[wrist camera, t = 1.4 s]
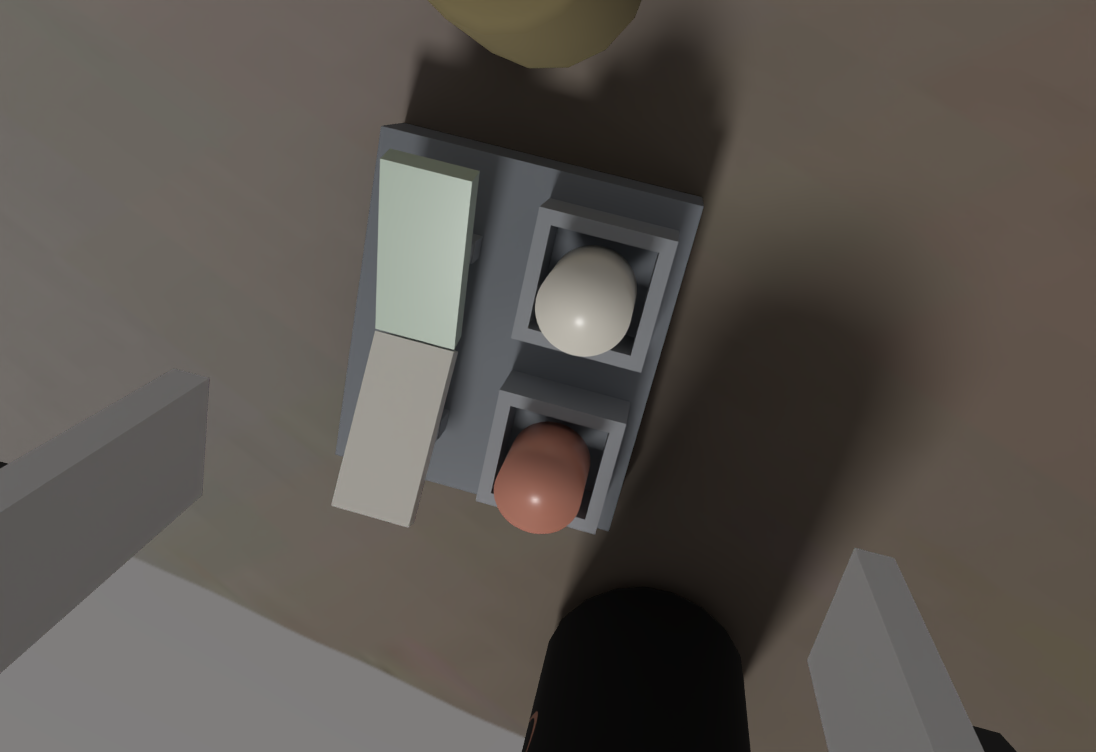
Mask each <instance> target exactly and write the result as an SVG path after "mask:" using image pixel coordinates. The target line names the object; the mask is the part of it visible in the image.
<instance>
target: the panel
mask: <svg viewBox="0 0 1096 752" xmlns="http://www.w3.org/2000/svg"><path fill="white" fill-rule="evenodd" d="M390 148H391V149H395V150H399V151H402V152H406V153H410V154H414V155H418V156H422V157H426V158H430V159H434V160H438V161H442V162H446V163H450V164H454V165H458V166H462V167H466V168H470V169H474V170H478V171H480V173H479V182H478V191H477V200H476V209H475V218H474V227H473V236H472V244H473V254H472V258H471V261H470V264H469V271H468V280H467V289H466V298H465V306H464V315H463V324H462V333H461V338H460V340H459V342H458V344H457V345H456V347H455V349H454V351H458V354H457V358H456V362H455V366H454V370H453V374H452V378H451V382H450V386H449V389H448V393H447V397H446V401H445V405H444V409H443V413H442V417H441V420H440V424H439V432H438V436H437V440H436V442H435V444H434V448H433V452H432V455H431V459H430V463H429V467H428V471H427V475H426V479H425V480H428V481H432V482H435V483H439V484H442V485H446V486H449V487H453V488H456V489H460V490H464V491H467V492H471V493H474V494H477V497H476V501H478V502H482V503H485V504H489V505H492V506H496V507H497V505H496V502H495V498H494V484H495V480H496V477H497V475H498V473H499V471H500V469H501V467H502V465H503V463H504V461H505V459H506V457H507V454H508V452H509V450H510V448H511V446H512V444H513V442H514V440H515V438H516V437H517V435H518V434H519V433H520V432H521V431H522V430H524V429H525V428H526V427H528V426H530V425H532V424H535V423H539V422H556V423H560V424H563V425H566V426H568V427H570V428H571V429H573V430H574V431H575V432H577V433H578V434H579V435H580V436H581V437H582V439H583V440H584V441H585V443H586V445H587V447H588V450H589V453H590V460H591V461H590V469H589V473H588V477H587V481H586V485H585V489H584V493H583V497H582V501H581V505H580V508H579V511H578V513H577V515H576V517H575V518H574V519H573V521H572V522H571V523H570V524H569V525H567V527H570V528H574V529H577V530H581V531H584V532H588V533H591V534H595V533H596V529H597V528H598V529H602V530H605V531H609V529H610V525H611V522H612V518H613V515H614V512H615V508H616V505H617V501H618V498H619V494H620V491H621V488H622V484H623V481H624V477H625V474H626V471H627V467H628V464H629V460H630V457H631V453H632V450H633V447H634V443H635V440H636V436H637V433H638V429H639V426H640V423H641V419H642V416H643V412H644V409H645V405H646V402H647V399H648V395H649V392H650V388H651V385H652V381H653V378H654V375H655V371H656V368H657V364H658V361H659V358H660V354H661V351H662V347H663V344H664V340H665V337H666V334H667V330H668V327H669V323H670V320H671V316H672V313H673V310H674V306H675V303H676V299H677V296H678V292H679V289H680V286H681V282H682V279H683V275H684V272H685V268H686V265H687V262H688V258H689V255H690V251H691V248H692V245H693V241H694V238H695V234H696V231H697V227H698V224H699V221H700V217H701V214H702V210H703V207H704V206H703V199H702V197H700V196H696V195H692V194H688V193H683V192H679V191H675V190H671V189H667V188H663V187H659V186H655V185H651V184H647V183H643V182H639V181H635V180H631V179H627V178H623V177H619V176H615V175H611V174H607V173H603V172H599V171H595V170H591V169H587V168H583V167H579V166H575V165H571V164H567V163H563V162H559V161H555V160H551V159H547V158H543V157H539V156H535V155H531V154H527V153H523V152H519V151H515V150H511V149H507V148H503V147H499V146H495V145H491V144H487V143H483V142H479V141H475V140H471V139H467V138H463V137H459V136H455V135H451V134H447V133H443V132H439V131H435V130H431V129H427V128H423V127H419V126H415V125H411V124H407V123H400V124H392V125H384V126H381V131H380V138H379V145H378V152H377V160H376V167H375V174H374V181H373V188H372V196H371V203H370V210H369V217H368V224H367V231H366V239H365V246H364V253H363V260H362V267H361V275H360V282H359V289H358V296H357V303H356V310H355V318H354V325H353V332H352V339H351V346H350V353H349V361H348V368H347V375H346V382H345V389H344V397H343V404H342V411H341V418H340V425H339V432H338V440H337V447H336V455H339V456H344V453H345V449H346V445H347V441H348V437H349V433H350V429H351V425H352V421H353V417H354V413H355V409H356V405H357V401H358V397H359V393H360V389H361V385H362V381H363V377H364V373H365V369H366V365H367V361H368V357H369V353H370V349H371V345H372V341H373V337H374V333H375V331H382V330H378V329H375V324H376V288H377V252H378V215H379V179H380V158H381V157H382V156H383V155H384V154H385V153H386V152H387V151H388V150H389V149H390ZM586 245H599V246H604V247H607V248H610V249H612V250H614V251H616V252H617V253H619V254H620V255H621V256H622V257H624V259H625V260H626V261H627V262H628V263H629V265H630V266H631V268H632V270H633V272H634V274H635V277H636V282H637V296H636V301H635V305H634V309H633V313H632V318H631V322H630V325H629V328H628V330H627V332H626V334H625V335H624V337H623V338H622V340H621V341H620V342H619V343H618V344H617V345H616V346H614V347H613V348H612V349H610V350H609V351H607V352H604V353H602V354H599V355H595V356H588V357H582V356H574V355H570V354H567V353H565V352H563V351H561V350H559V349H558V348H556V347H555V346H553V345H552V344H551V343H550V342H549V341H548V340H547V339H546V338H545V336H544V335H543V333H542V332H541V330H540V328H539V325H538V323H537V319H536V314H535V302H536V297H537V294H538V291H539V289H540V287H541V285H542V283H543V282H544V280H545V279H546V278H547V276H548V275H549V273H550V272H551V271H552V269H553V268H554V267H555V265H556V264H557V262H558V261H559V260H560V259H561V258H562V257H563V256H564V255H565V254H567V253H568V252H569V251H571V250H573V249H575V248H578V247H581V246H586ZM384 332H386V331H384ZM387 333H389V332H387ZM391 334H393V333H391ZM395 335H397V334H395ZM398 336H401V335H398ZM402 337H404V336H402ZM406 338H408V337H406ZM410 339H412V338H410ZM413 340H415V339H413ZM417 341H419V340H417ZM421 342H423V341H421ZM424 343H427V342H424ZM428 344H430V343H428ZM432 345H434V344H432ZM436 346H438V345H436ZM439 347H441V346H439ZM443 348H445V347H443ZM447 349H449V348H447ZM450 350H453V349H450Z"/></svg>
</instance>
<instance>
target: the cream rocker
mask: <svg viewBox="0 0 1096 752" xmlns="http://www.w3.org/2000/svg"><path fill="white" fill-rule="evenodd" d="M457 354H458V351H454V350H450V349H447V348H443V347H439V346H436V345H432V344H428V343H424V342H421V341H417V340H413V339H410V338H406V337H402V336H398V335H395V334H391V333H387V332H384V331H375V333H374V337H373V341H372V345H371V349H370V353H369V357H368V361H367V365H366V369H365V373H364V377H363V381H362V385H361V389H360V393H359V397H358V401H357V405H356V409H355V413H354V417H353V421H352V425H351V429H350V433H349V437H348V441H347V445H346V449H345V453H344V456H343V460H342V464H341V468H340V472H339V476H338V480H337V484H336V488H335V492H334V496H333V500H332V504H331V506H335V507H338V508H341V509H345V510H348V511H352V512H355V513H359V514H362V515H366V516H369V517H373V518H376V519H380V520H383V521H387V522H390V523H394V524H397V525H401V526H404V527H408V528H409V527H410V526H411V525H412V524H413V523H414V521H415V518H416V514H417V510H418V506H419V502H420V498H421V494H422V490H423V486H424V483H425V479H426V475H427V471H428V467H429V463H430V459H431V455H432V452H433V448H434V444H435V442H436V440H437V436H438V432H439V424H440V420H441V417H442V413H443V409H444V405H445V401H446V397H447V393H448V389H449V386H450V382H451V378H452V374H453V370H454V366H455V362H456V358H457Z"/></svg>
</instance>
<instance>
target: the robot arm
mask: <svg viewBox="0 0 1096 752" xmlns="http://www.w3.org/2000/svg"><path fill="white" fill-rule="evenodd" d="M209 381H210V378H209V377H205V376H201V375H197V374H193V373H190V372H186V371H182V370H178V369H172V370H170V371H168V372H167V373H165V374H163V375H161V376H160V377H158V378H156V379H154V380H153V381H151V382H149V383H148V384H146V385H144V386H142V387H141V388H139V389H137V390H135V391H134V392H132V393H130V394H129V395H127V396H125V397H123V398H122V399H120V400H118V401H116V402H115V403H113V404H111V405H109V406H108V407H106V408H104V409H103V410H101V411H99V412H97V413H96V414H94V415H92V416H90V417H89V418H87V419H85V420H84V421H82V422H80V423H78V424H77V425H75V426H73V427H71V428H70V429H68V430H66V431H64V432H63V433H61V434H59V435H58V436H56V437H54V438H52V439H51V440H49V441H47V442H45V443H44V444H42V445H40V446H39V447H37V448H35V449H33V450H32V451H30V452H28V453H26V454H25V455H23V456H21V457H19V458H18V459H16V460H14V461H13V462H11V463H9V464H7V463H3V462H0V673H1V672H2V671H3V670H5V669H6V668H7V667H8V666H9V665H10V664H11V663H13V662H14V661H15V660H16V659H17V658H18V657H19V656H21V655H22V654H23V653H24V652H25V651H26V650H27V649H28V648H30V647H31V646H32V645H33V644H34V643H35V642H36V641H37V640H39V639H40V638H41V637H42V636H43V635H44V634H45V633H46V632H48V631H49V630H50V629H51V628H52V627H53V626H55V624H57V623H58V622H59V621H60V620H61V619H62V618H64V617H65V616H66V615H67V614H68V613H69V612H70V611H71V610H72V609H74V608H75V607H76V606H77V605H78V604H79V603H80V602H82V601H83V600H84V599H85V598H86V597H87V596H88V595H90V594H91V593H92V592H93V591H94V590H95V589H96V588H98V587H99V586H100V585H101V584H102V583H103V582H104V581H105V580H106V579H108V578H109V577H110V576H111V575H112V574H113V573H115V572H116V571H117V570H118V569H119V568H120V567H121V566H122V565H123V564H125V563H126V562H127V561H128V560H129V559H130V558H132V557H133V556H134V555H135V554H136V553H137V552H138V551H139V550H141V549H142V548H143V547H144V546H145V545H146V544H147V543H149V542H150V541H151V540H152V539H153V538H154V537H155V536H156V535H158V534H159V533H160V532H161V531H162V530H163V529H164V528H166V527H167V526H168V525H169V524H170V523H171V522H172V521H173V520H175V519H176V518H177V517H178V516H179V515H180V514H181V513H183V512H184V511H185V510H186V509H187V508H188V507H189V506H190V505H192V504H193V503H194V502H195V501H196V500H197V499H198V498H200V497H201V496H202V490H203V475H204V459H205V443H206V428H207V412H208V397H209ZM807 661H808V665H809V669H810V674H811V678H812V682H813V687H814V691H815V695H816V700H817V704H818V708H819V712H820V717H821V721H822V725H823V730H824V734H825V738H826V742H827V747H828V751H829V752H1016V751H1015V750H1014V748H1013V747H1012V746H1011V745H1010V744H1009V743H1008V742H1007V741H1006V740H1005V738H1004V737H1003V736H1002V735H1001V734H1000V733H997V732H993V731H989V730H986V729H982V728H979V727H975V726H972V724H971V722H970V720H969V717H968V715H967V713H966V711H965V709H964V707H963V705H962V702H961V700H960V698H959V696H958V694H957V692H956V690H955V687H954V685H953V683H952V681H951V679H950V677H949V674H948V672H947V670H946V668H945V666H944V664H943V662H942V659H941V657H940V655H939V653H938V651H937V649H936V647H935V644H934V642H933V640H932V638H931V636H930V634H929V631H928V629H927V627H926V625H925V623H924V621H923V619H922V616H921V614H920V612H919V610H918V608H917V606H916V604H915V601H914V599H913V597H912V595H911V593H910V591H909V588H908V586H907V584H906V582H905V580H904V578H903V576H902V573H901V571H900V569H899V567H898V565H897V563H896V560H895V558H892V557H888V556H884V555H881V554H877V553H873V552H869V551H865V550H862V549H858V548H854V550H853V553H852V555H851V557H850V560H849V562H848V565H847V567H846V569H845V572H844V574H843V576H842V579H841V581H840V584H839V586H838V588H837V591H836V593H835V595H834V598H833V600H832V603H831V605H830V607H829V610H828V612H827V614H826V617H825V619H824V622H823V624H822V626H821V629H820V631H819V633H818V636H817V638H816V641H815V643H814V645H813V648H812V650H811V652H810V655H809V657H808V660H807Z"/></svg>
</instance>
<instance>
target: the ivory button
mask: <svg viewBox="0 0 1096 752" xmlns="http://www.w3.org/2000/svg"><path fill="white" fill-rule="evenodd" d="M636 296H637V282H636V277H635V274H634V272H633V270H632V268H631V266H630V265H629V263H628V262H627V261H626V260H625V259H624V257H622V256H621V255H620V254H619V253H617V252H616V251H614V250H612V249H610V248H607V247H604V246H599V245H586V246H581V247H578V248H575V249H573V250H571V251H569V252H568V253H567V254H565V255H564V256H563V257H562V258H561V259H560V260H559V261H558V262H557V264H556V265H555V267H554V268H553V269H552V271H551V272H550V273H549V275H548V276H547V278H546V279H545V280H544V282H543V283H542V285H541V287H540V289H539V291H538V294H537V297H536V302H535V314H536V319H537V323H538V325H539V328H540V330H541V332H542V333H543V335H544V336H545V338H546V339H547V340H548V341H549V342H550V343H551V344H552V345H553V346H555V347H556V348H558V349H559V350H561V351H563V352H565V353H567V354H570V355H574V356H582V357H588V356H595V355H599V354H602V353H604V352H607V351H609V350H610V349H612V348H613V347H614V346H616V345H617V344H618V343H619V342H620V341H621V340H622V338H623V337H624V335H625V334H626V332H627V330H628V328H629V325H630V322H631V318H632V313H633V309H634V305H635V301H636Z"/></svg>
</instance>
